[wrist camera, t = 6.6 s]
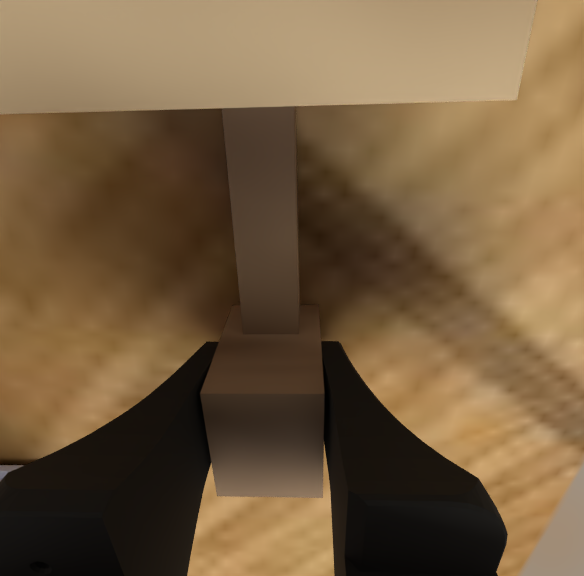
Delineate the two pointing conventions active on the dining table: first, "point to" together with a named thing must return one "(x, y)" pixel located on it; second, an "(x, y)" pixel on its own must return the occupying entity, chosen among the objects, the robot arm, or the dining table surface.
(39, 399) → the dining table surface
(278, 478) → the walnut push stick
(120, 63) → the oak shelf
